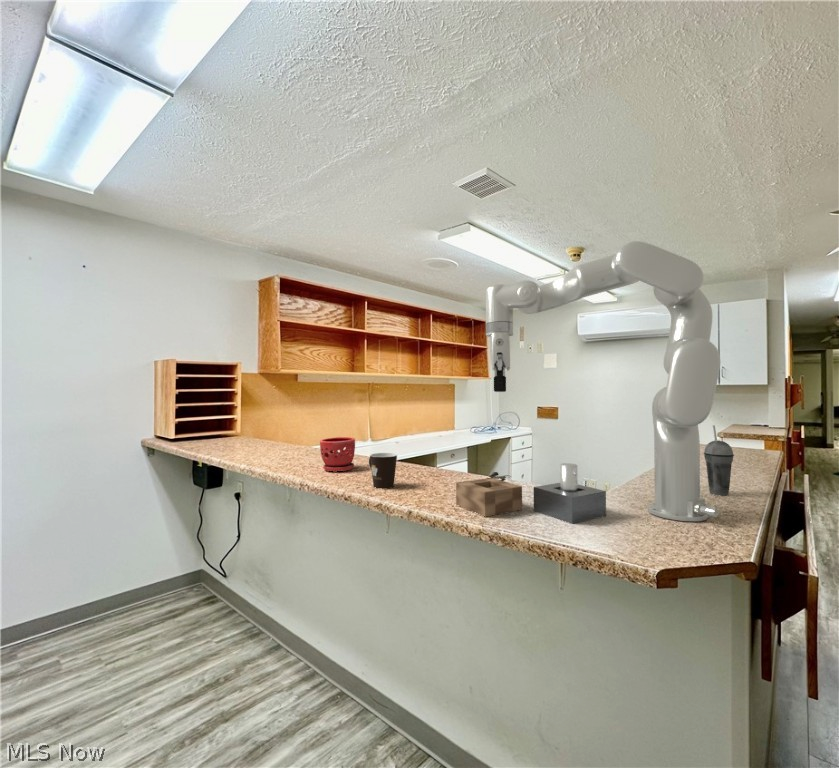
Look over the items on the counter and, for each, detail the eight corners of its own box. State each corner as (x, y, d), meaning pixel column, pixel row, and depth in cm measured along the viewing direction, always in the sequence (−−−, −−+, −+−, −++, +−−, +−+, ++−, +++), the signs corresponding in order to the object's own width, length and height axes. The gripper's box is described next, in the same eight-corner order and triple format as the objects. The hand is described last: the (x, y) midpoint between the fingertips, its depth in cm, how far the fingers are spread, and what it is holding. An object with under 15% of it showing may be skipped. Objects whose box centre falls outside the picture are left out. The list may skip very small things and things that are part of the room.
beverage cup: (740, 497, 119) (739, 426, 119) (711, 496, 120) (711, 426, 121) (725, 491, 126) (725, 424, 127) (699, 490, 127) (698, 424, 128)
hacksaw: (493, 475, 153) (493, 471, 153) (521, 477, 148) (521, 473, 148) (471, 489, 131) (471, 484, 131) (503, 493, 127) (503, 488, 127)
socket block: (606, 515, 102) (605, 491, 103) (572, 523, 96) (571, 497, 97) (566, 504, 113) (566, 481, 113) (533, 510, 107) (533, 487, 107)
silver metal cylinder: (581, 514, 104) (580, 465, 104) (570, 516, 102) (569, 466, 102) (568, 510, 107) (567, 462, 108) (557, 512, 105) (556, 464, 106)
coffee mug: (399, 488, 131) (399, 456, 131) (372, 490, 129) (372, 457, 129) (392, 480, 142) (392, 451, 142) (366, 482, 140) (366, 452, 140)
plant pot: (335, 465, 170) (335, 436, 170) (361, 468, 163) (361, 437, 164) (312, 471, 159) (312, 439, 159) (339, 474, 152) (339, 441, 152)
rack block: (522, 509, 108) (522, 486, 108) (485, 517, 102) (484, 492, 102) (491, 499, 118) (491, 477, 118) (456, 505, 112) (456, 482, 112)
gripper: (514, 325, 109) (514, 391, 109) (512, 333, 126) (512, 391, 126) (484, 326, 110) (485, 391, 110) (486, 334, 127) (487, 391, 127)
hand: (499, 391), depth 118 cm, fingers open, 9 cm apart
